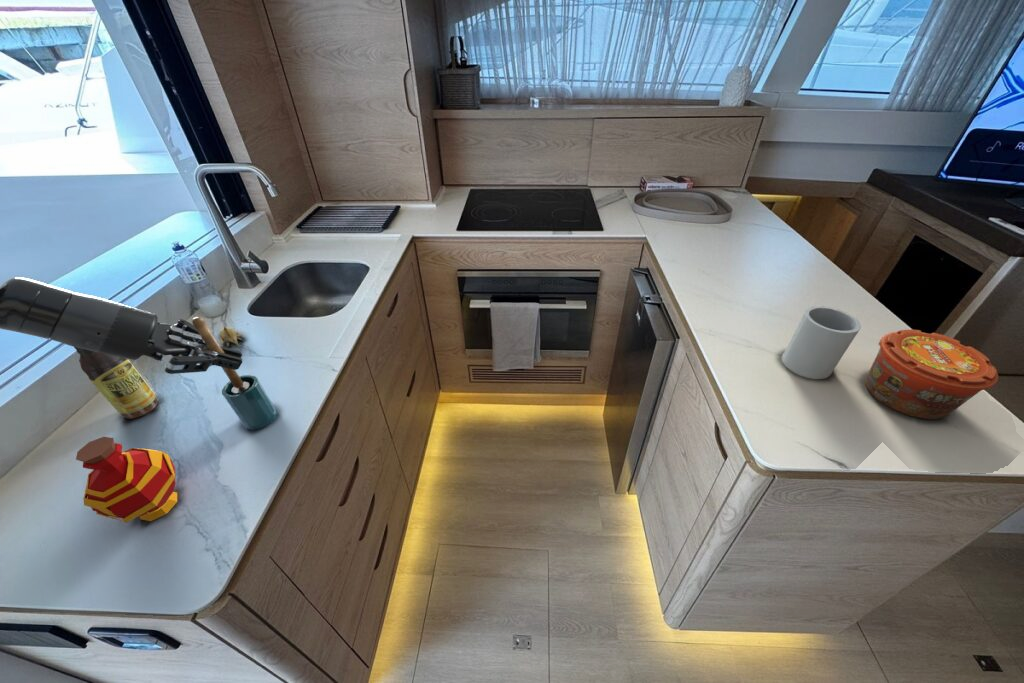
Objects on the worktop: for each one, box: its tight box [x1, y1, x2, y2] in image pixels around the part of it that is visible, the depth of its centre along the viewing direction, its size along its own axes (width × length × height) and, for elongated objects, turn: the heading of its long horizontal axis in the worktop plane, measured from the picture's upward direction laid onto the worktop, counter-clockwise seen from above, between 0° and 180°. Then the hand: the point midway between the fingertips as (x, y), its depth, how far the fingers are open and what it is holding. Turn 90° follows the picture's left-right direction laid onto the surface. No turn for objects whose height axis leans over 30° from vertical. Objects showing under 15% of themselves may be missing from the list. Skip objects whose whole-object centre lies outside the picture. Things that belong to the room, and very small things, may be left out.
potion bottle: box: [75, 436, 178, 523], centre depth 59 cm, size 10×10×15 cm
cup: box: [781, 305, 862, 380], centre depth 81 cm, size 9×9×12 cm
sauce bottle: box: [73, 347, 159, 420], centre depth 74 cm, size 7×6×20 cm
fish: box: [219, 325, 244, 348], centre depth 95 cm, size 5×14×5 cm, turn 48°
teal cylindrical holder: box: [221, 374, 278, 431], centre depth 74 cm, size 6×6×9 cm
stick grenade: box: [191, 316, 251, 395], centre depth 69 cm, size 3×3×22 cm
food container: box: [864, 329, 999, 420], centre depth 74 cm, size 16×16×11 cm
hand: (239, 360), depth 69 cm, fingers closed on stick grenade, 1 cm apart
